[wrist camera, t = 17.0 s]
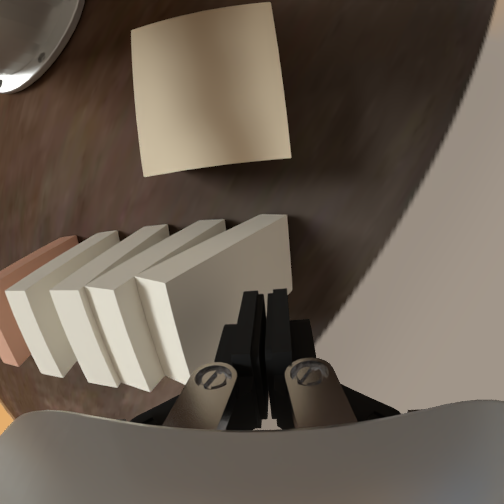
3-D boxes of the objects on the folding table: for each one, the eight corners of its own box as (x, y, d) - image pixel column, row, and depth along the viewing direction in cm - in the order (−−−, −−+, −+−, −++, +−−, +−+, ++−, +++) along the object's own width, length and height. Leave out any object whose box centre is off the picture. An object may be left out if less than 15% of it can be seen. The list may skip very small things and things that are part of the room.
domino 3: (158, 292, 21) (88, 382, 12) (144, 226, 20) (49, 290, 10) (181, 292, 21) (117, 387, 12) (167, 224, 20) (78, 290, 10)
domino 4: (211, 290, 21) (121, 382, 12) (199, 220, 19) (83, 285, 11) (234, 291, 20) (150, 392, 12) (224, 219, 19) (113, 290, 10)
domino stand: (175, 169, 18) (143, 177, 14) (163, 54, 16) (130, 30, 11) (286, 155, 18) (291, 157, 13) (271, 35, 15) (270, 2, 10)
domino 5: (268, 286, 21) (164, 375, 13) (260, 214, 19) (134, 276, 11) (292, 289, 20) (194, 388, 12) (287, 214, 18) (164, 283, 10)
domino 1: (76, 294, 22) (3, 362, 13) (60, 237, 21) (-29, 289, 11) (92, 294, 22) (18, 366, 13) (76, 235, 20) (-16, 289, 11)
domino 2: (113, 294, 22) (41, 373, 12) (97, 232, 20) (4, 290, 11) (133, 293, 22) (63, 377, 12) (117, 230, 20) (24, 290, 11)
